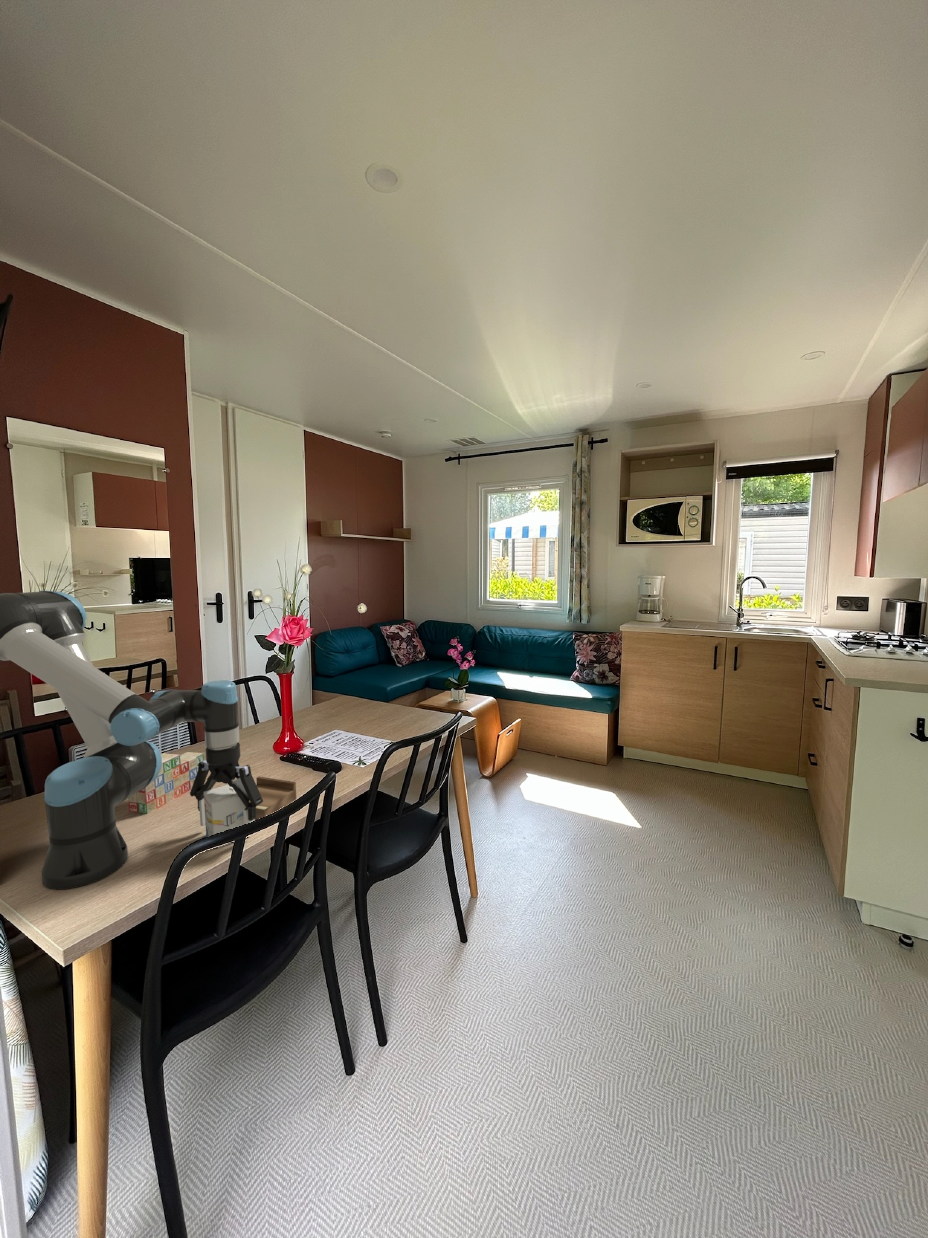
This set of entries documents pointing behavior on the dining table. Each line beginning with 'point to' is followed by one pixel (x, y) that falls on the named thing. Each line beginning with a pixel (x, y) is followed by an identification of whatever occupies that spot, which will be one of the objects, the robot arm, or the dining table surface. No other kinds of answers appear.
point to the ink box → (222, 810)
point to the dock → (274, 795)
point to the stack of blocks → (167, 782)
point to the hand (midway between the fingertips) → (227, 827)
